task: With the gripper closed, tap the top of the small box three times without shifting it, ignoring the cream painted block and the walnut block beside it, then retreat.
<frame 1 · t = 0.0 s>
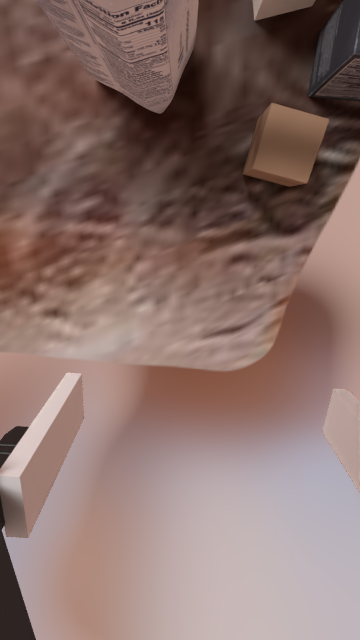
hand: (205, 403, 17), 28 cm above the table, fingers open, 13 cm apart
small box: (358, 68, 35), on the table
walnut block: (274, 153, 38), on the table
juice carton: (141, 62, 35), on the table
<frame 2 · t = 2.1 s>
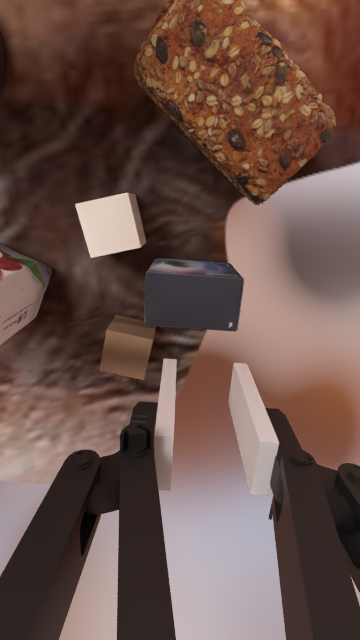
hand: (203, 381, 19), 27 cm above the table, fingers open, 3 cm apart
bread: (225, 117, 37), on the table
small box: (191, 280, 44), on the table
cream block: (118, 223, 41), on the table
walnut block: (132, 337, 47), on the table
juice carton: (17, 277, 44), on the table
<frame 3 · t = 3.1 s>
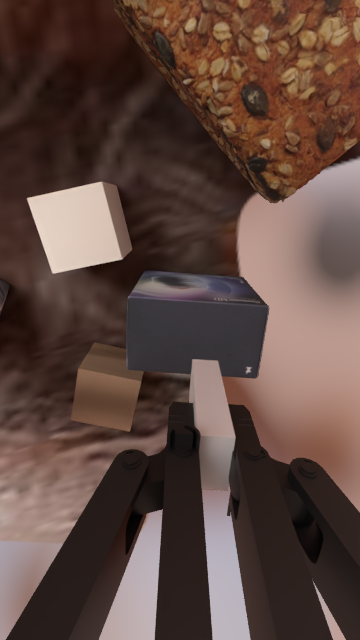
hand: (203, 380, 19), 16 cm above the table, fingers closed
bread: (237, 78, 27), on the table
small box: (191, 299, 34), on the table
cream block: (95, 224, 31), on the table
walnut block: (116, 370, 36), on the table
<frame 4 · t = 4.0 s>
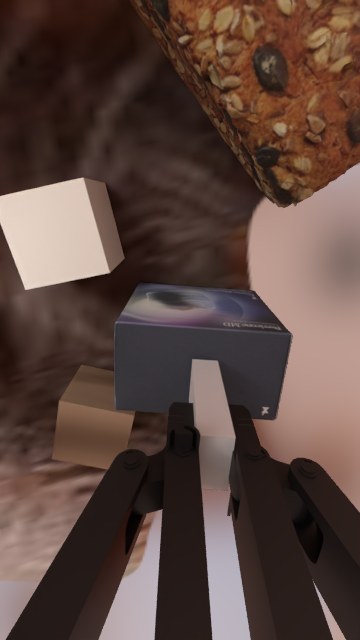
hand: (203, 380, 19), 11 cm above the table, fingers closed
bread: (248, 53, 22), on the table
small box: (194, 315, 29), on the table, touching gripper
cream block: (80, 229, 26), on the table
walnut block: (107, 396, 32), on the table
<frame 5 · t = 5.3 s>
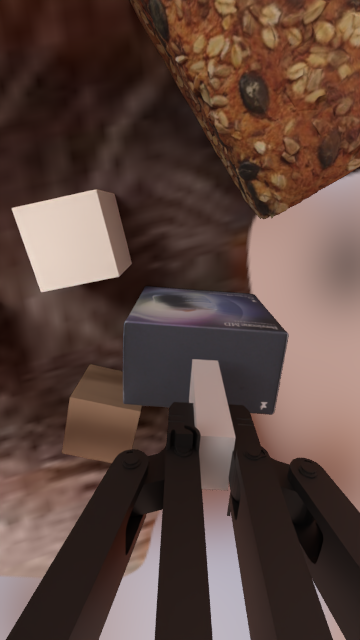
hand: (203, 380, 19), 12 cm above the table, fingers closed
bread: (244, 75, 24), on the table
small box: (197, 318, 31), on the table
cream block: (90, 236, 28), on the table
walnut block: (114, 395, 33), on the table
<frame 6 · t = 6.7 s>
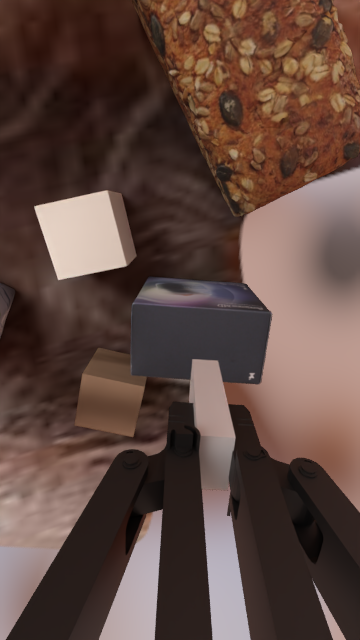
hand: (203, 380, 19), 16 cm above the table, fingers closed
bread: (232, 90, 28), on the table
small box: (195, 305, 34), on the table
cream block: (100, 232, 31), on the table
walnut block: (120, 376, 37), on the table
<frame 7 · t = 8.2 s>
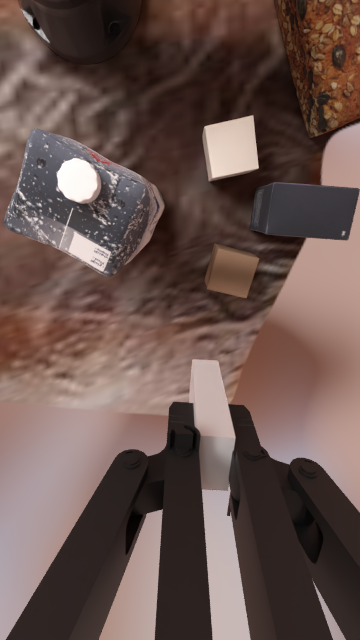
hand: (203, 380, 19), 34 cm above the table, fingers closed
bread: (323, 54, 42), on the table
small box: (286, 210, 48), on the table
cream block: (226, 154, 46), on the table
walnut block: (227, 266, 51), on the table
juice carton: (128, 207, 48), on the table
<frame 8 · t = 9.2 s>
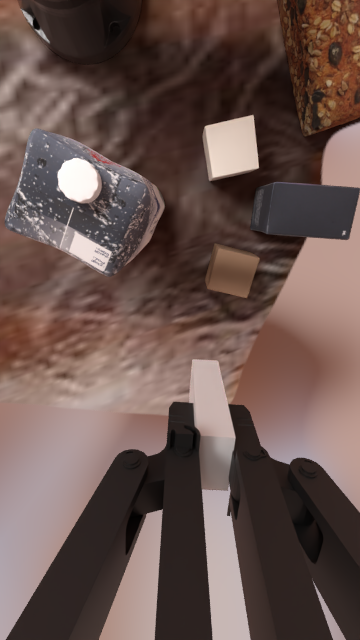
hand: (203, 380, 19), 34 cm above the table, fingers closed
bread: (322, 53, 42), on the table
small box: (286, 210, 48), on the table
cream block: (226, 154, 46), on the table
walnut block: (227, 266, 51), on the table
juice carton: (128, 207, 48), on the table
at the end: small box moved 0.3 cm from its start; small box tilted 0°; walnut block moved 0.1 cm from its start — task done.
